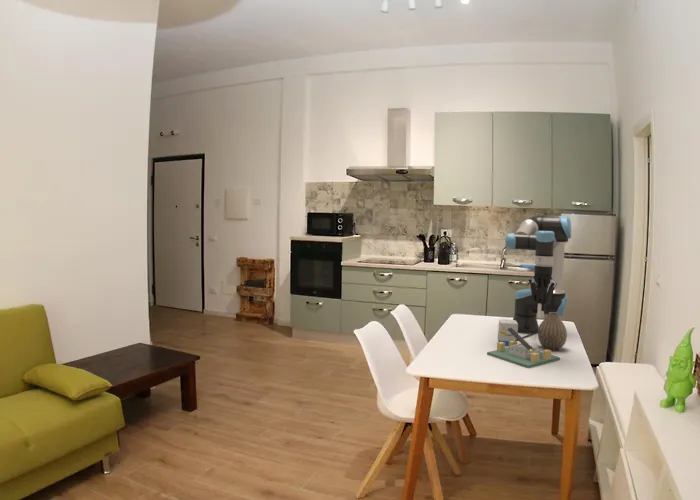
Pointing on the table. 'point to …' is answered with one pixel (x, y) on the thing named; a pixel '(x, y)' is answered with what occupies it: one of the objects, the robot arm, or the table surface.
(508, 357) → the board
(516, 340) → the strap
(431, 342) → the table surface
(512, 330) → the strap
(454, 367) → the table surface
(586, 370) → the table surface
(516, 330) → the ink box
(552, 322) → the vase
